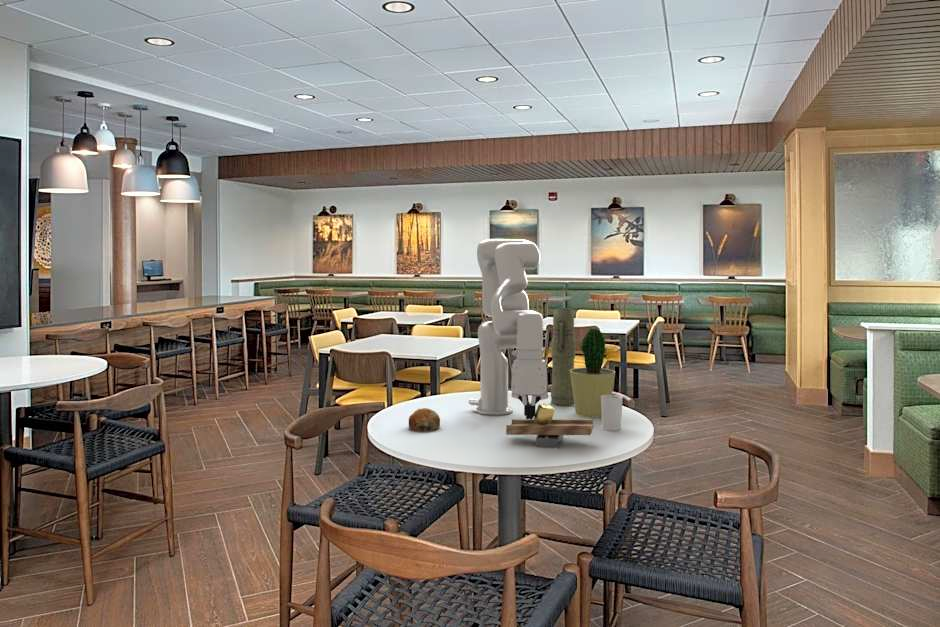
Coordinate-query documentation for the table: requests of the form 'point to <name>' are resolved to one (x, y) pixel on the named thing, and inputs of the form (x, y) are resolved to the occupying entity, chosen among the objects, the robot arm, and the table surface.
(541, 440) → the fulcrum
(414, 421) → the bread roll
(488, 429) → the table surface
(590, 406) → the potted cactus
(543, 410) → the rider
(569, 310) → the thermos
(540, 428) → the beam
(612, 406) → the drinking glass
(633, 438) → the table surface
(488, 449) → the table surface
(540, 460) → the table surface
